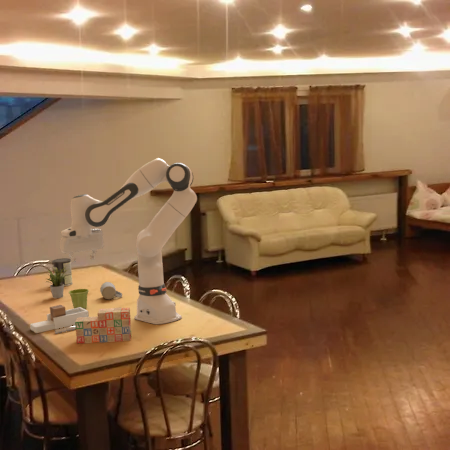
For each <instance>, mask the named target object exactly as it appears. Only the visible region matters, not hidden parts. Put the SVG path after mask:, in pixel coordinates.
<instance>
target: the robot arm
mask: <svg viewBox="0 0 450 450" xmlns="http://www.w3.org/2000/svg"><path fill="white" fill-rule="evenodd" d="M166 182H167V183H168V184H169V185H170V187H171V189H172V190H173V193H171V194H172V195H171V196H170V197H169V198H168V200H167V201H166V202H165V203H164V205H162V207H161V208H160V209H159V211H158V212H156V214H155V215H154V217H153V218H152V219H151V221H150V222H149V223H148V225H147V226H146V227H145V228H144V229H141V230H140V231H139V232H138V234H137V237H136V243H135V246H136V254H137V272H138V273H137V274H138V286H137V287H138V288H137V290H138V295H139V296H138V299H136V315H135V316H134V320H137V321H142V322H144V323H149V324H153V325H162V324H167V323H172V322H176V321H179V320H181V319H182V315H181V314H179V313H178V312H177V310H176V302H175V301H173V300H172V298H171V297H170V296H169V295H168V294H167V291H168V290H167V287H166V284H165V283H164V267H163V266H164V265H163V254H162V249H163V248H164V246H165V245H166V244H167V242H168V241H169V239H170V238H171V237H172V235H173V234H174V233H175V231H176V230H177V229H178V227H179V226H180V225H181V224H182V223H183V222H184V221H185V219H186V217H188V216H189V214H190V213H191V211H192V210H193V208H194V207H195V204H197V201H198V196H197V194H196V192H195V191H194V190H193V189H192V188H191V186H192V185H193V182H194V173H193V171H192V170H191V168H190V167H189V166H188V165H186V164H184V163H182V162H174V163H172V164H170V165H169V164H168V163H167V162H166V161H165V160H164V159H163V158H159V157H157V158H155V159H153V160H150V161H149V162H146V163H145V164H143V165H142V166H140V167H139V168H138V169H136V170H135V171H134V172H133V173H132V174H131V175H130V176H129V177H128V178H127V180H126V181H125V182H124V184H123V185H122V186H121V187H120V188H119V189H118V190H117V191H116V192H114V193H112V194H111V195H110V196H109V197H107V198H106V199H104V200H103V201H102V200H99V199H96V198H94V197H92V196H90V195H89V194H87V193H84V194H78V195H76V196H75V195H74V197H72V198H71V201H70V216H71V224H70V225H71V226H70V227H68V228H66V229H63V230H61V232H60V233H61V234H60V235H61V237H60V241H59V250H60V252H61V253H63V254H68V257H69V259H71V263H76V259H77V258H76V257H74V253H80V252H86V251H91V252H92V253H91V254H90V255H89V259H90V260H91V261H92V260H95V259H96V258H95V257H96V254H97V252H98V250H99V249H102V250H103V248H104V247H105V242H104V232H103V230H102V229H100V228H99V227H102V226H103V225H104V226H105V224H106V223H107V222H108V221H109V220H110V218H111V217H112V215H113V213H114V212H115V211H116V210H118V209H120V208H121V207H122V206H124V205H125V204H126V203H128V202H130V201H132V200H134V199H136V198H138V197H141V196H144V195H146V194H148V193H149V192H151V191H152V190H154V189H155V188H156V187H158V186H159V185H160V184H162V183H166ZM92 227H93V229H92ZM94 227H95V228H94Z"/></svg>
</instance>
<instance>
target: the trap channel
mask: <svg viewBox="0 0 450 450" xmlns="http://www.w3.org/2000/svg"><path fill="white" fill-rule="evenodd" d="M65 312H66V315H65V316H60V317H55V318H53V319H54V322H53V321H52V320H51V314H50V313H47V314H46V319H47V320H43V321H38V322H37V321H36V322H33V323H30V324H29V327H30V328H29V329H30V330H31V331H32V332H34V333H35V334H39V333H43V332H48V331H52V330H58V329H59V328H60V329H62V328H63V327H64V328H67V327H71V326H72V325H73V326H75V322H76V320H77V318H80V317H90V316H89V310H87V309H86V308H84V309H83V308H81V307H79V308H74V307H73V308H70V309H65Z"/></svg>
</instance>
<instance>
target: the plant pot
mask: <svg viewBox="0 0 450 450" xmlns="http://www.w3.org/2000/svg"><path fill="white" fill-rule="evenodd" d="M89 291H90V290H89V288H76V289H72V290H69V291H68V294H69V295H70V296H69V297H70V298H71V303H72V307H73V309H74V308H79V307H81V308H83V309H87V308H88V295H89Z"/></svg>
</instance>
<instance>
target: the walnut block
mask: <svg viewBox="0 0 450 450" xmlns="http://www.w3.org/2000/svg"><path fill="white" fill-rule="evenodd" d="M65 310H66V307H65V306H64V305H62V304H58V305H52V306H49V312H50V313H49V314H51V320H52V321H53V322H54V319H53V318H55V317H60V316H65V315H66V312H65Z"/></svg>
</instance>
